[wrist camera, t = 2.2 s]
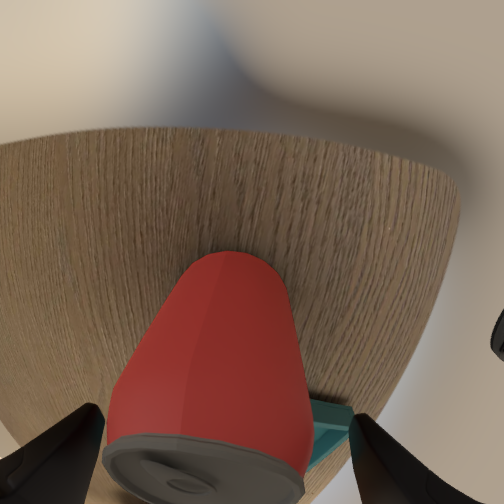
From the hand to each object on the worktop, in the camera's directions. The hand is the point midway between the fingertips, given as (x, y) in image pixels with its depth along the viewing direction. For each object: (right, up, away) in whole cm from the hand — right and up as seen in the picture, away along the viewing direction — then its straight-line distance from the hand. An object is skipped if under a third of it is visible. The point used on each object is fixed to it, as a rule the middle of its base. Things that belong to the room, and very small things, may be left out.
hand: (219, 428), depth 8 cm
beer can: (0, +3, +9) cm, 9 cm away
